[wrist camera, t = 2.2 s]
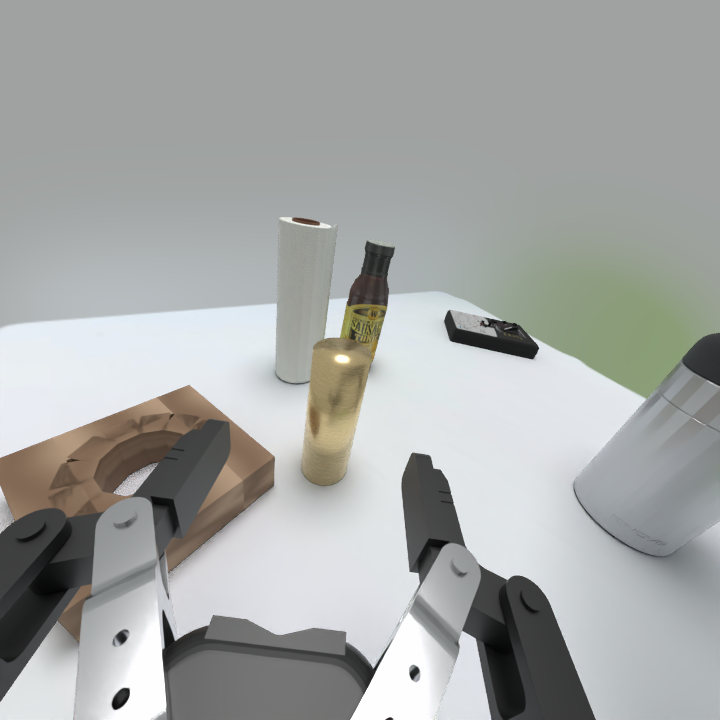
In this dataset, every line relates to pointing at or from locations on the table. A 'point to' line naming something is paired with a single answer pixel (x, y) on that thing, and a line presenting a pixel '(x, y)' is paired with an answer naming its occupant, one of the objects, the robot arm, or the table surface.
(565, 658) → the robot arm
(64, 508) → the jig
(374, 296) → the sauce bottle
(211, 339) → the table surface
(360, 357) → the yellow cylinder peg
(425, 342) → the table surface
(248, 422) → the table surface
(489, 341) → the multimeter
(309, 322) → the paper towel roll
